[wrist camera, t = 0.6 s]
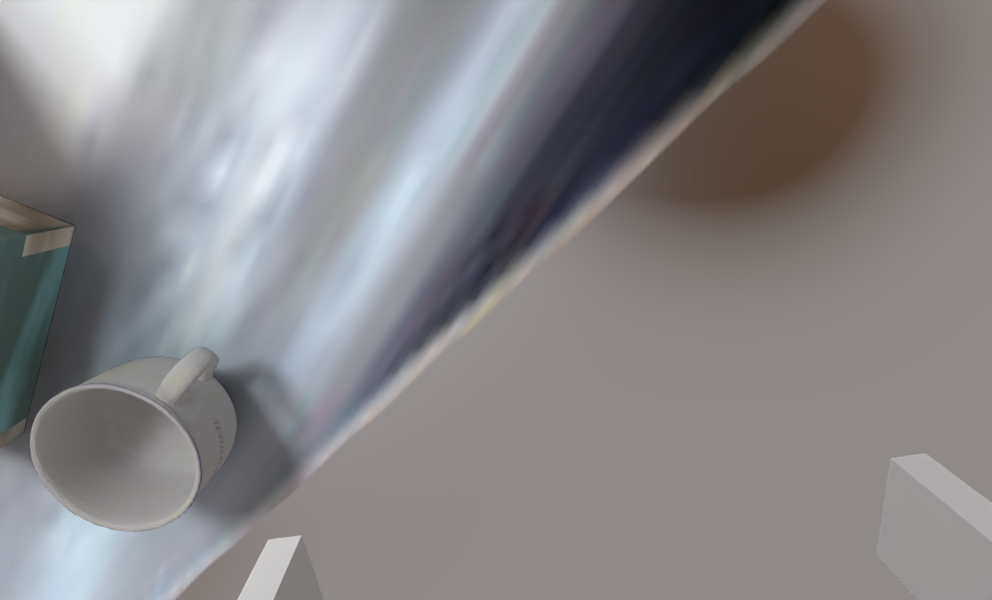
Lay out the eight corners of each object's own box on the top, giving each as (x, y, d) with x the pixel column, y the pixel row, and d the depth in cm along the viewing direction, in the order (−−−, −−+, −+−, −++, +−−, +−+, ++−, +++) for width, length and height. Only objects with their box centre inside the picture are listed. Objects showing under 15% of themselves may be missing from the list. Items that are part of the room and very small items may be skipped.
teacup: (187, 485, 42) (124, 561, 34) (78, 395, 39) (-17, 455, 31) (309, 388, 40) (271, 445, 32) (204, 285, 37) (135, 321, 29)
